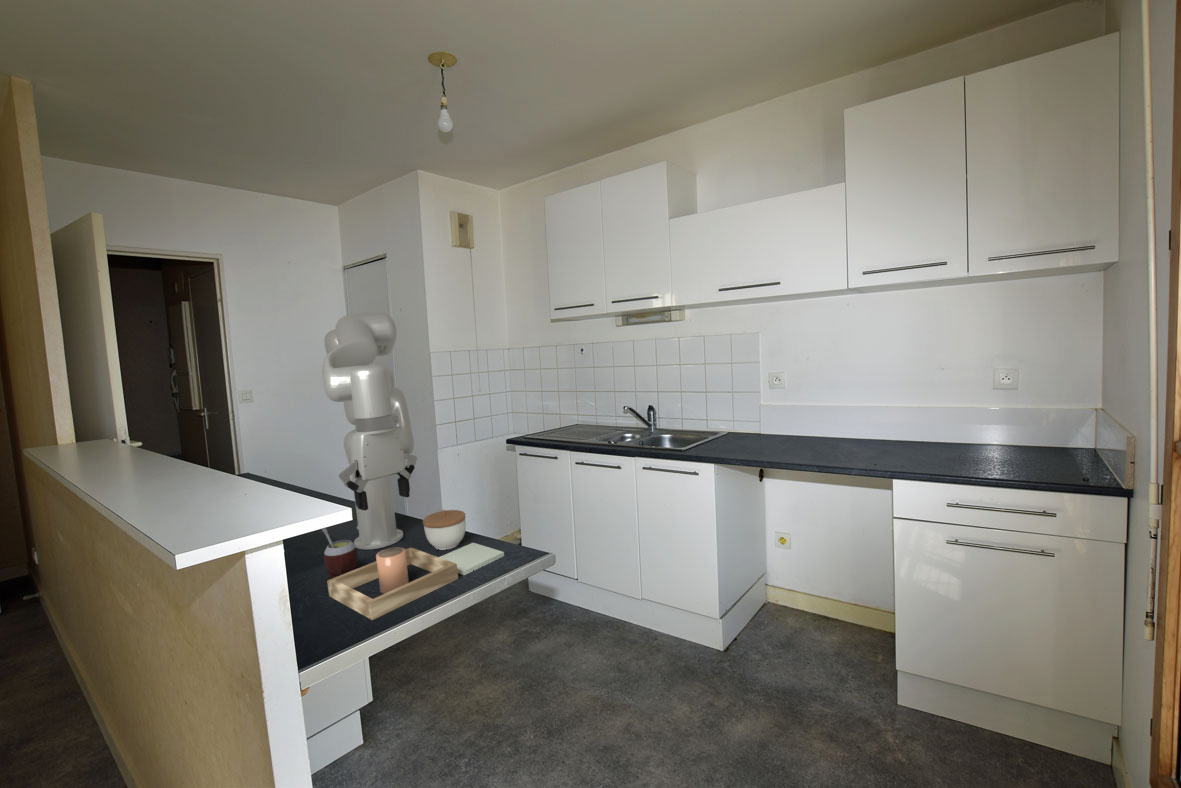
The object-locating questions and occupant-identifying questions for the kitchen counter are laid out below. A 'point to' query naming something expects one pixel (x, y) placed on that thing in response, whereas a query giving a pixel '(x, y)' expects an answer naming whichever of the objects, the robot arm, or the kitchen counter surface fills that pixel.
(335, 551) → the mate gourd
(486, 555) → the sage tile
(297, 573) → the kitchen counter surface
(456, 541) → the lidded jar
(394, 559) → the terracotta pot
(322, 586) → the kitchen counter surface
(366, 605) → the frame
